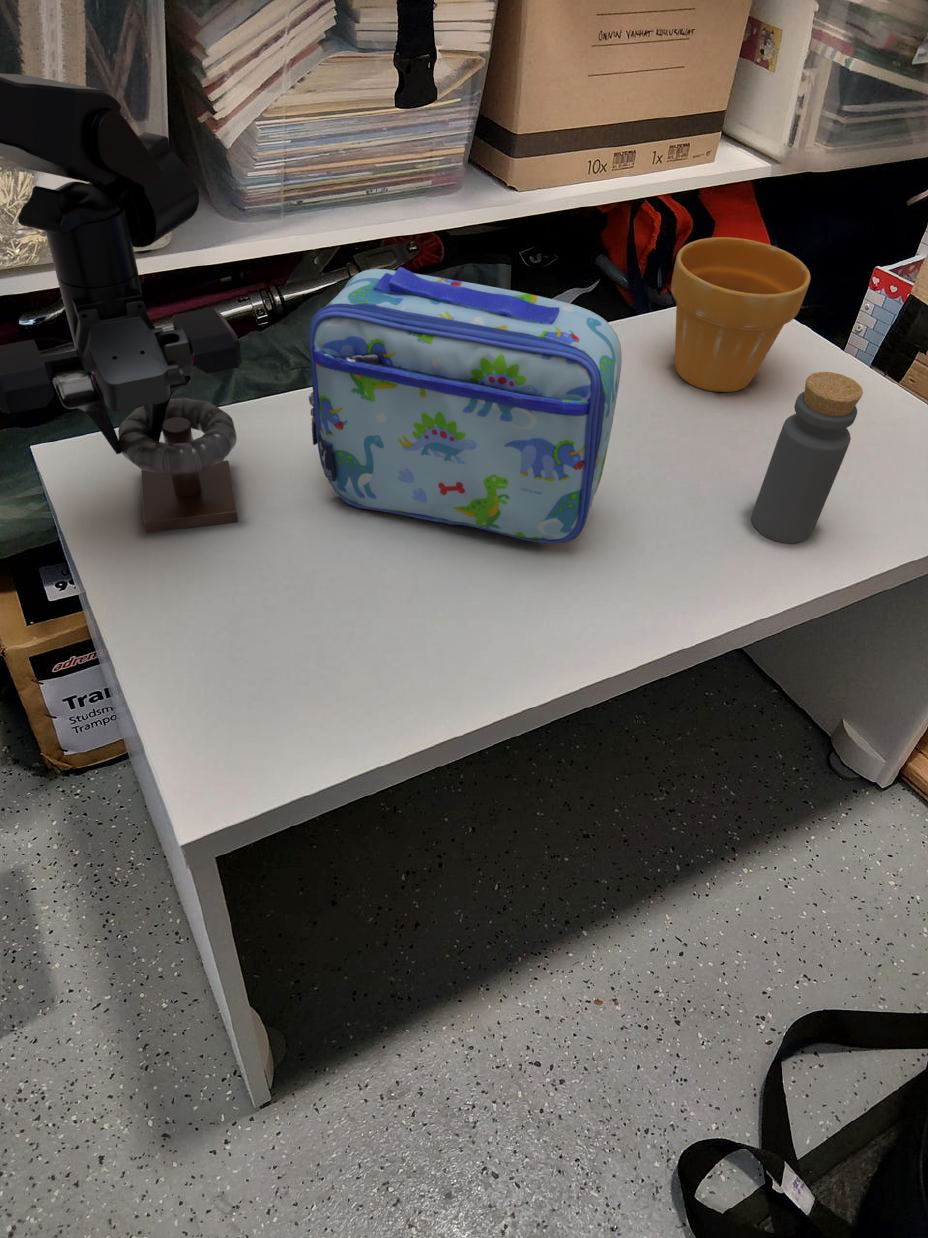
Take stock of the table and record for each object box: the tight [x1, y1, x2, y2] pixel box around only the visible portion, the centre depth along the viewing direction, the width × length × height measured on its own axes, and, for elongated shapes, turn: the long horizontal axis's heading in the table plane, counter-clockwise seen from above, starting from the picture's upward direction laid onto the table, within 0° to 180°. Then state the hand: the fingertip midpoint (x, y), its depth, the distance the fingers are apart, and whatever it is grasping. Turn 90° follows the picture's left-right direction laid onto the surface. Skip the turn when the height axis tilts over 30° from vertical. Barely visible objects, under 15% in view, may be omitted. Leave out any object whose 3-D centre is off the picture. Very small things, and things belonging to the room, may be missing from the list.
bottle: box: [751, 371, 864, 544], centre depth 84 cm, size 6×6×15 cm
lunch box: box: [308, 266, 623, 545], centre depth 81 cm, size 26×11×21 cm, turn 72°
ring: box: [117, 397, 238, 475], centre depth 82 cm, size 10×10×3 cm
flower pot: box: [670, 236, 811, 393], centre depth 104 cm, size 14×14×13 cm
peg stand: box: [140, 417, 239, 533], centre depth 84 cm, size 8×8×8 cm
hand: (136, 447), depth 80 cm, fingers closed on ring, 3 cm apart
